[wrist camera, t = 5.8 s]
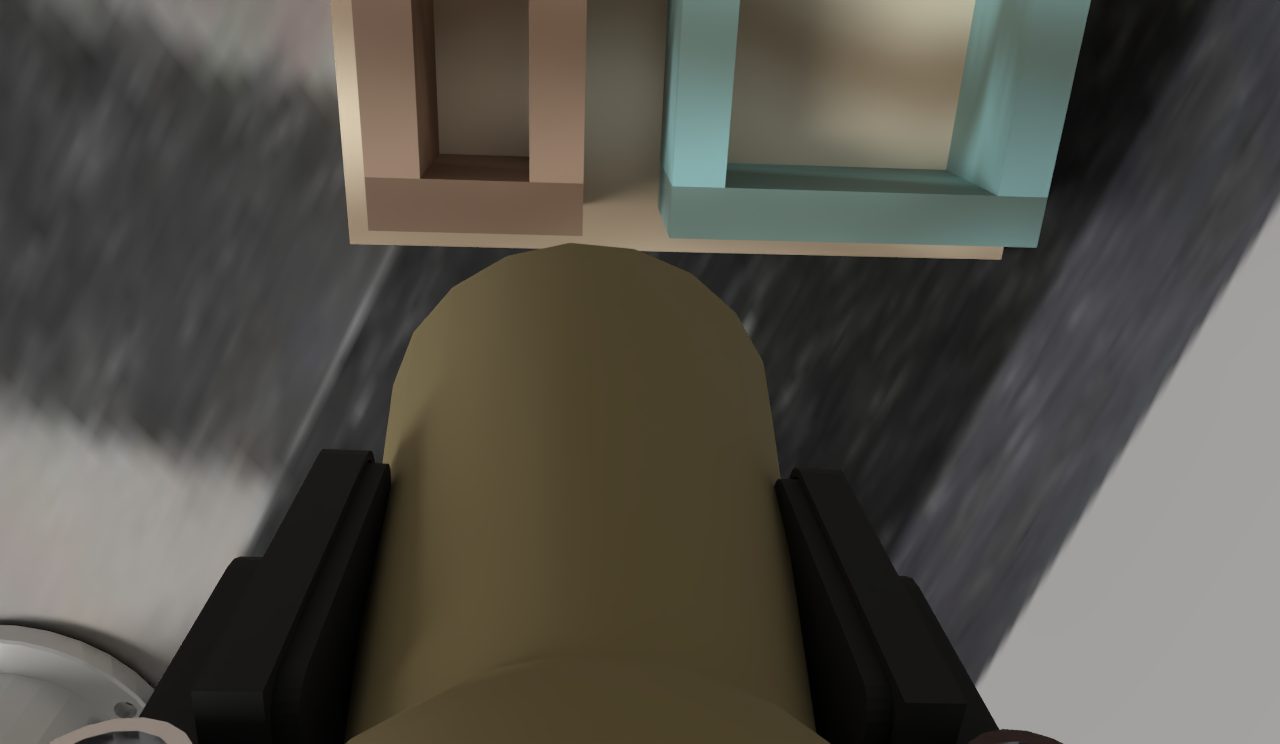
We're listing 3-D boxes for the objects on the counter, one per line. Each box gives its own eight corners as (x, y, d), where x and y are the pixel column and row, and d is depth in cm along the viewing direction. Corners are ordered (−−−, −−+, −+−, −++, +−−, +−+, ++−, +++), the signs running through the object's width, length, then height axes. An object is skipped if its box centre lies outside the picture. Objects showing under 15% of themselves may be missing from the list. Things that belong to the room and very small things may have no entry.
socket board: (989, 251, 32) (1057, 296, 28) (356, 236, 31) (318, 281, 26) (1080, -209, 27) (1184, -248, 22) (317, -260, 25) (260, -314, 21)
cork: (362, 545, 15) (-73, 1670, 5) (429, 195, 13) (-111, 962, 3) (707, 612, 16) (918, 1672, 6) (824, 297, 14) (1469, 1138, 4)
